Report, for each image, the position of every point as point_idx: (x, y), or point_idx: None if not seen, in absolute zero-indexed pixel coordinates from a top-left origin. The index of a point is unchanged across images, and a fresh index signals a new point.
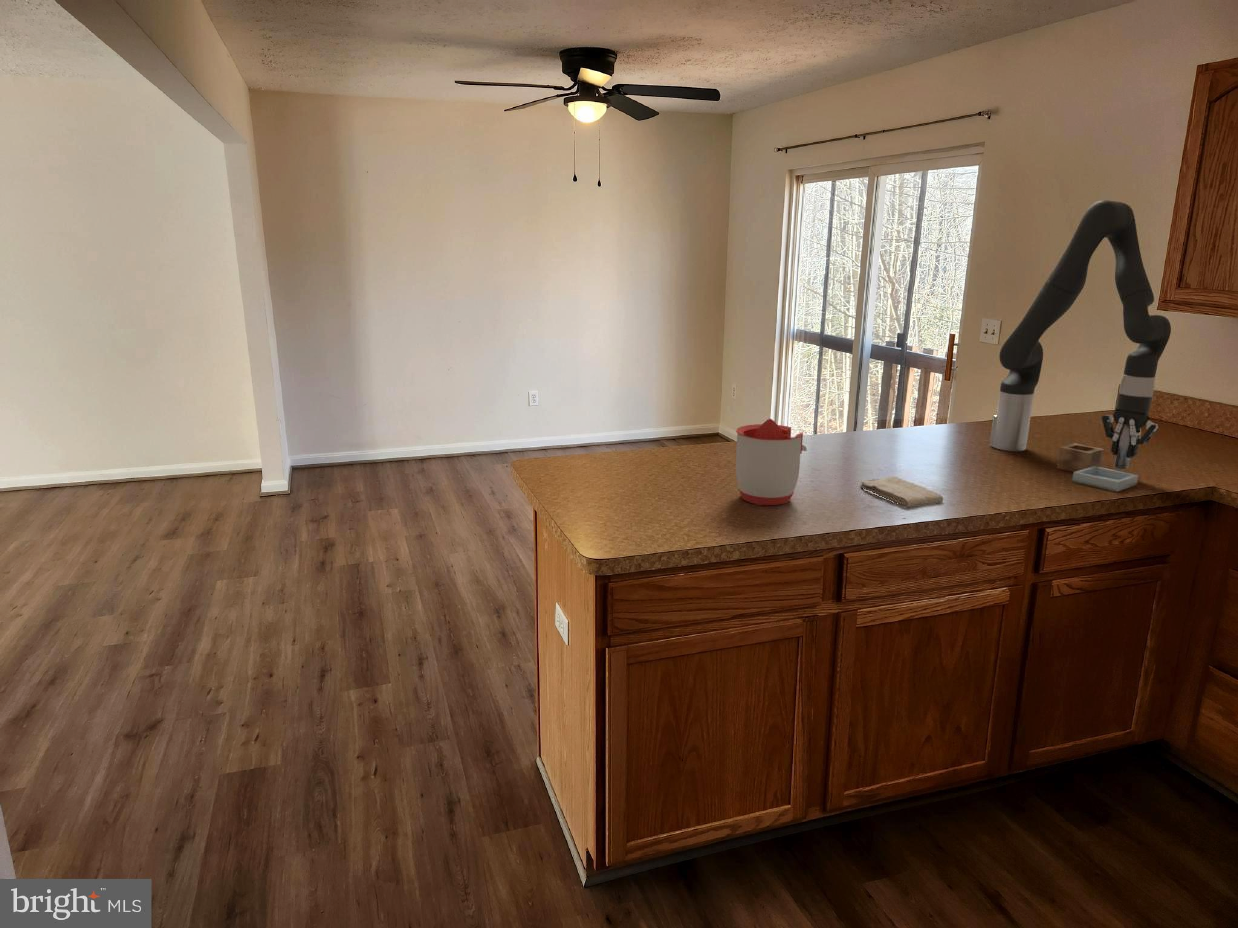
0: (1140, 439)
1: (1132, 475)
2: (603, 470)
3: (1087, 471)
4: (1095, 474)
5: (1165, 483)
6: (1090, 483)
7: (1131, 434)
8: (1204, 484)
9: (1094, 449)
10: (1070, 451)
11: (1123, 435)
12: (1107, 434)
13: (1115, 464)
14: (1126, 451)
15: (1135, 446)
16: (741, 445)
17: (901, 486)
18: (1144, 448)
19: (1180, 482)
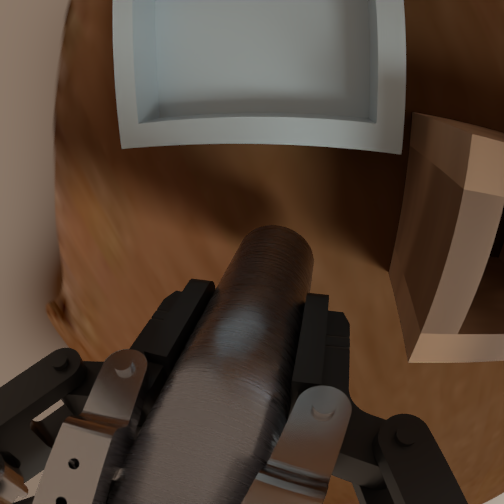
0: (55, 383)
1: (133, 114)
2: None
3: (373, 2)
4: (363, 109)
5: (119, 262)
6: None
7: (97, 437)
8: (86, 330)
9: (465, 309)
10: None
11: (200, 441)
12: (415, 441)
13: (295, 243)
14: (208, 309)
15: (132, 348)
16: None
17: None
18: (341, 492)
19: (114, 310)
